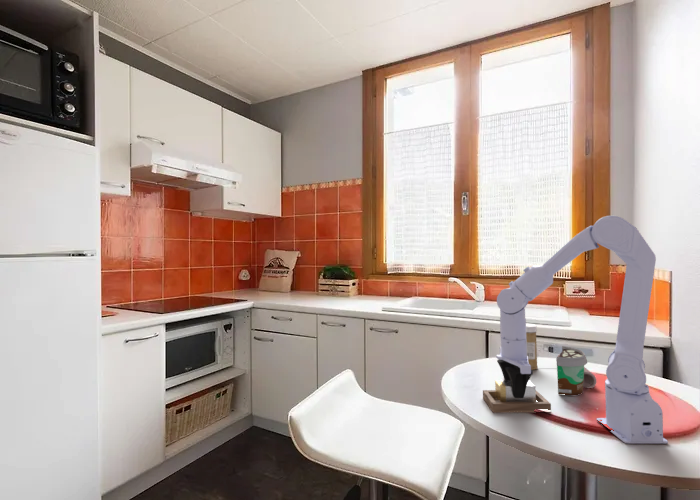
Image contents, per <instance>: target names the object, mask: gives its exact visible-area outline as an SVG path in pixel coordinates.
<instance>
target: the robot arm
mask: <svg viewBox="0 0 700 500" xmlns="http://www.w3.org/2000/svg"><path fill="white" fill-rule="evenodd" d="M600 246H601V247H604V248H606V249H608V250H610V251H611V252H614V254H615V255H616V256H617V257H619V258H620V259H621V260H622V261H623V262H624V263H625V264H626V267H625V275H624V282H623V283H624V284H623V291H622V297H621V304H620V311H619V317H618V327H617V334H616V340H615V348H614V349H613V351H612V352H611V353H609V357H608V360H607V363H608V365H607V367H606V370H605V373H606V375H605V376H606V379H605V381H604V383H605V385H604V388H605V389H604V392H605V393H604V394H605V395H604V396H605V417H597V418H596V421H597V420H598V421H600V420H602V421H600V422H601V423H603V424H607V425H608V426H609V427H610V428H612V429H613V430H614V431H613V430H611V431H610V432H611V433H612V434H613V435H614V436H616V437H617V438H618V439H619V440H621V442H623V443H624V444H668V443H669V440H668V439H666V438H665V437H664V421H663V418H664V417H663V416H664V415H663V413H664V412H663V409H662V407H661V406H660V405H659V403H658V402H657V401H655V400H654V399H653V397H652V396H651V393H650V387H649V385H648V384H646V383H647V376H646V365H645V364H646V363H645V361H644V347H645V346H644V345H645V339H646V332H647V331H646V330H647V324H648V318H649V309H650V303H651V297H652V289H653V281H654V274H655V270H656V269H655V266H656V260H657V258H656V254H655V253H654V252H655V251H653V250H652V247H650V245H649V243H647V241H646V239H645V238H644V237H643V236H642V234H641V232H640V231H639V230H638V228H637V227H636V226H635V225H633V224H632V223H630V222H629V221H628V220H626V219H625V218H623V217H621V216H619V215H606V216H602V217H600V218H599V219H598V220H596V222H595V223H594V224H593V225H589V226H588V227H585V228H584V229H583V230H581V231H580V232H579V233H576V235H574V237H572V238H571V239H570V240H568V241H567V243H565V244H564V245H563V246H562V247H561V248H560V249H559V250H558V251H556V252H555V253H554V254H553V255H552V256H551V257H550V258H549V259H547V260H546V262H545V263H543V264H541V265H539V264H538V265H537V264H534V265H532V266H527V267H525V268H524V269H523V273H522V275H520V276H519V277H518V278H516V279H515V280H514V281H513V280H512V281H510V282H509V283H508V285H509V287H507V288H504V289H501V290H500V292H499V293H498V295H497V296H496V304H497V307H498V309H499V314H500V318H499V322H500V323H499V327H500V330H499V331H500V334H499V335H500V347H499V354H496V355H495V359H497V360H496V361H497V364H498V365H499V367H500V370H501V372H502V376H503V380H510V381H511V386H512V392H513V396H514V397H515V398H524V395H525V390H526V386H527V383H528V381H530V379H531V377H532V376H533V375H534V374H533V373H534V370H531V365H530V364H529V361H528V356H527V339H526V324H527V318H526V307H527V306H528V304H529V302H532V301H533V300H534V299H536V298H537V297H538V296H539V295H541V294H542V293H543V292H544V291H546V290H547V289H548V288H550V286H552V285H553V284H554V275H555V274H556V273H558V272H559V271H561V270H562V269H563V268H565V266H567V265H568V264H569V263H571V262H572V261H574V260H575V259H577V257H578V256H580V255H581V254H583V253H584V252H587V251H592V250H596V249H599V248H600ZM598 421H597V422H598Z"/></svg>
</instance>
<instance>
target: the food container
mask: <svg viewBox="0 0 700 500" xmlns="http://www.w3.org/2000/svg"><path fill="white" fill-rule="evenodd" d="M561 349H562V351H561V352H560V353H559V354H560V356H559V357H557V356H556V358H557V361H556V374H557V393H558V394H565V395H578V394H581V393H582V392H583V393H584V387H583V379H584V367H585V365H587V364H588V360H587V356H586V354H585V352H584V351H582V350H580V349H578V348H574V347H571V346H563V345H562V347H561ZM583 393H582V394H583ZM582 394H581V395H582ZM578 396H579V395H578Z"/></svg>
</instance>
